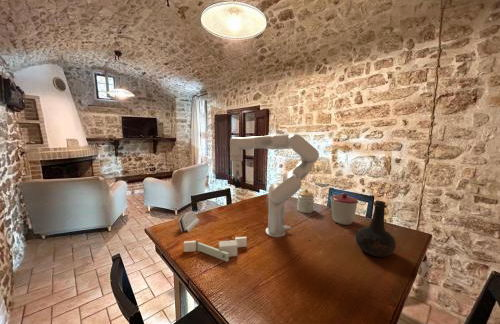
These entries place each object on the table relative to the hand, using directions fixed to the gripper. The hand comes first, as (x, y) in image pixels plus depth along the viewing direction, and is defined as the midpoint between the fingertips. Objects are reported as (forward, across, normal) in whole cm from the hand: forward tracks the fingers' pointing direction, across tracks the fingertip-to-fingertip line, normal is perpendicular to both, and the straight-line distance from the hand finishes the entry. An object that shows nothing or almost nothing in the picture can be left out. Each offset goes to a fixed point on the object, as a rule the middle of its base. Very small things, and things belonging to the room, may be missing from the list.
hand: (236, 185), depth 124 cm
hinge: (+30, +13, +30) cm, 45 cm away
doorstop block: (+30, -23, +8) cm, 38 cm away
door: (+30, -23, +16) cm, 41 cm away
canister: (+31, +1, -76) cm, 82 cm away
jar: (+31, +25, -60) cm, 72 cm away
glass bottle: (+31, -35, -69) cm, 83 cm away
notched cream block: (+30, -17, +14) cm, 37 cm away
